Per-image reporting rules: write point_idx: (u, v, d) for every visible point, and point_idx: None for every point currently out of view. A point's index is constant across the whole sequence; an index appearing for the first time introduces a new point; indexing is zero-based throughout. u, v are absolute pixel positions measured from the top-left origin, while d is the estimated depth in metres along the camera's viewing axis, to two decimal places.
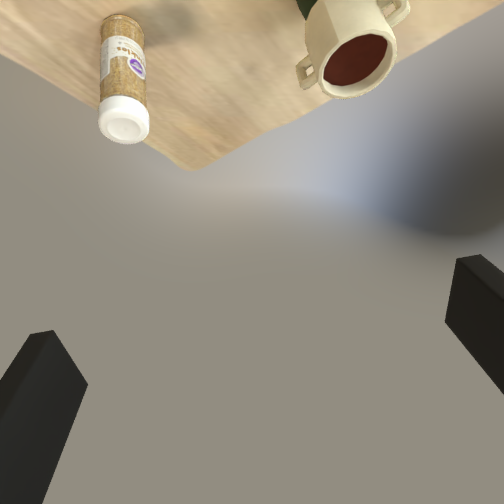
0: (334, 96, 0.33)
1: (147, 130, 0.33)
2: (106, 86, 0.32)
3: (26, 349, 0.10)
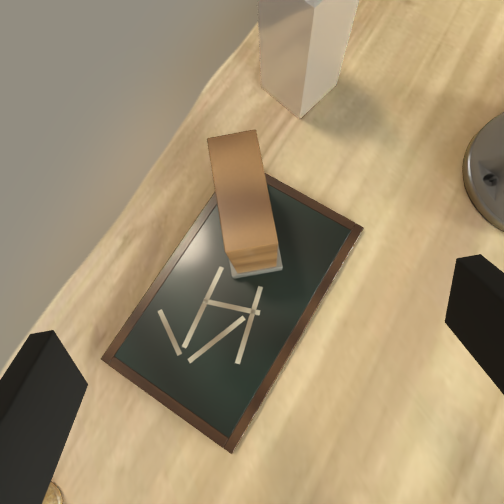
0: None
1: None
2: None
3: (26, 349, 0.10)
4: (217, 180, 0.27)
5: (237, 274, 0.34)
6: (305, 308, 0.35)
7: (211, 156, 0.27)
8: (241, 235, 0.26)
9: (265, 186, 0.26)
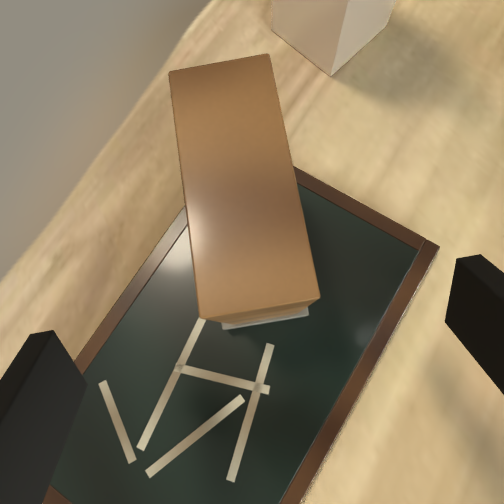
0: None
1: None
2: None
3: (26, 349, 0.10)
4: (187, 157, 0.12)
5: (231, 326, 0.20)
6: (346, 383, 0.21)
7: (176, 107, 0.13)
8: (236, 279, 0.11)
9: (290, 170, 0.12)
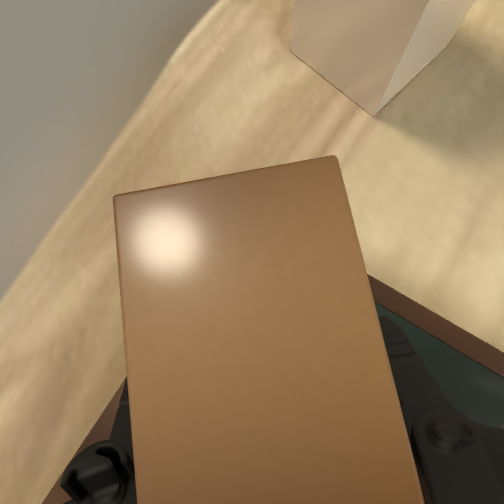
0: None
1: None
2: None
3: None
4: (150, 428, 0.05)
5: None
6: None
7: (126, 287, 0.06)
8: None
9: (410, 476, 0.05)
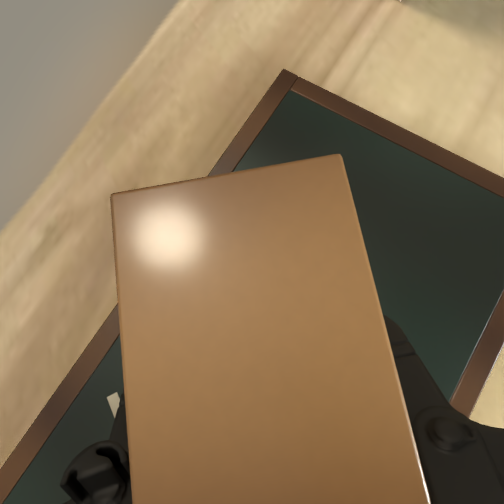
0: None
1: None
2: None
3: None
4: (148, 435, 0.05)
5: None
6: (452, 396, 0.15)
7: (123, 288, 0.05)
8: None
9: (418, 486, 0.05)
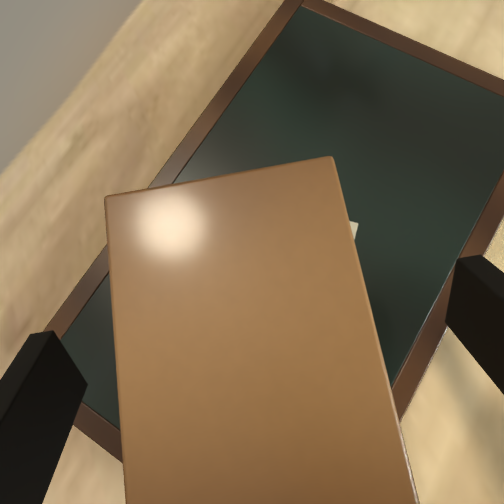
0: None
1: None
2: None
3: (26, 349, 0.10)
4: (141, 435, 0.05)
5: None
6: (454, 266, 0.16)
7: (117, 290, 0.05)
8: None
9: (406, 485, 0.05)
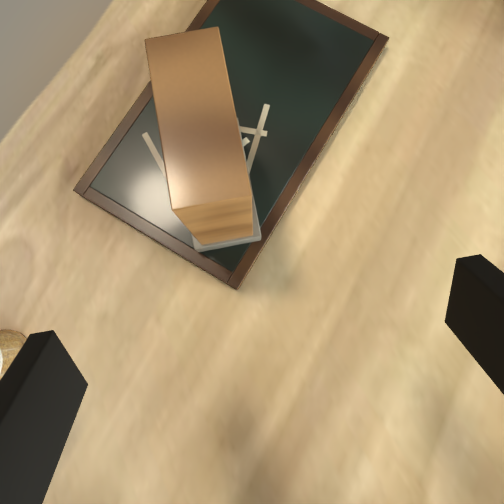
0: None
1: None
2: None
3: (26, 349, 0.10)
4: (160, 102, 0.18)
5: (201, 246, 0.26)
6: (321, 127, 0.29)
7: (151, 66, 0.18)
8: (195, 184, 0.17)
9: (232, 111, 0.17)
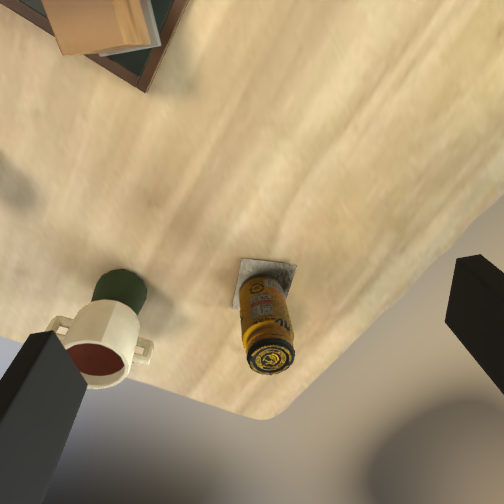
0: None
1: None
2: None
3: (26, 349, 0.10)
4: None
5: (105, 54, 0.29)
6: None
7: None
8: (77, 31, 0.21)
9: None
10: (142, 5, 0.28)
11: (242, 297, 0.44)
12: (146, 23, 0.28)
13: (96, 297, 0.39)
